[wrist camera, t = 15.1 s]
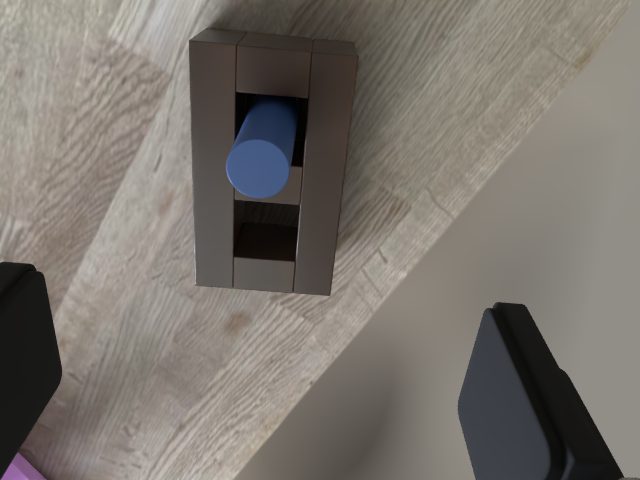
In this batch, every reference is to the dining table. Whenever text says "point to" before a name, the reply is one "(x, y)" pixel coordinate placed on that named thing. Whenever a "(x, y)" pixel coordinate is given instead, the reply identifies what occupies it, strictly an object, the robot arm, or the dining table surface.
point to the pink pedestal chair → (21, 470)
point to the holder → (306, 167)
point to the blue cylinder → (264, 147)
